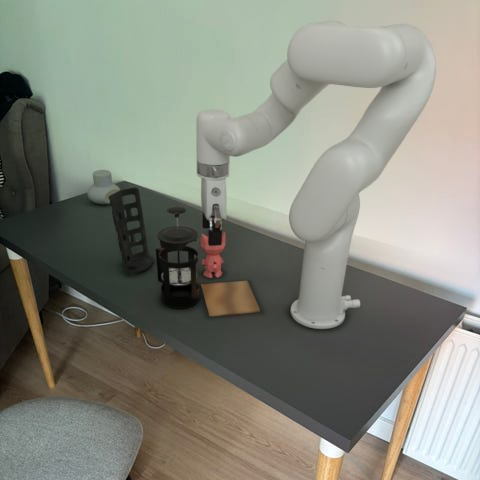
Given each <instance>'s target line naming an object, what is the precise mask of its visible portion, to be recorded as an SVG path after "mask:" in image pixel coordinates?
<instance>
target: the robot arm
mask: <svg viewBox="0 0 480 480" xmlns="http://www.w3.org/2000/svg"><path fill="white" fill-rule="evenodd" d="M286 51H287V52H286V58H287V59H286V60H285V61H284V62H283V63H282V64H281V65H280V66H279V67H278V68H276V70H275V71H274V72H273V73H272V74H271V76H270V79H269V87H270V90H271V94H270V95H269V96H268V97H267V98H266V99H265V100H264V101H263V103H261V104H260V105H259V106H258V107H257V108H256V109H255V110H254V111H252V112H249V113H246V114H243V115H240V116H236V117H231V115H230V113H228V112H227V111H224V110H222V109H213V108H212V109H211V108H210V109H204V110H201V111H199V112H198V113H197V116H196V176H197V177H198V178H200V180H201V181H200V203H201V209H202V219H201V220H202V222H201V223H202V225H201V227H202V228H203V229H208V231H207V232H208V233H207V234H208V235H207V237H208V244H209V246H216V245H221V244H222V234H223V226H222V225H223V224H222V220H224V221H225V220H226V219H227V216H228V215H227V212H228V211H227V209H228V208H227V207H228V206H227V181H226V179H227V178H229V177H230V164H231V163H230V160H231V158H230V157H234V158H235V157H236V158H237V157H241V156H244V155H246V154H248V153H249V154H250V153H252V152H254V151H256V150H258V149H261V148H264V147H265V146H267V145H269V144H270V143H272V142H273V141H274V140H275V139H277V137H278V136H280V135H281V134H282V133H283V132H284V131H285V130H286V129H287V128H288V127H290V125H292V123H293V122H294V121H295V120H296V119H297V117H298V116H299V114H300V113H301V111H302V110H303V109H304V108H305V107H306V106H307V105H308V104H309V103H310V102H312V101H313V100H314V99H315V98H316V97H317V96H318V95H319V94H320V93H321V92H322V91H323V90H324V89H326V88H327V87H328V86H329V85H335V86H344V87H351V88H352V87H353V88H360V89H361V88H363V89H377V88H380V90H379V91H378V93H377V94H376V95H375V97H373V99H372V101H371V102H370V103H369V104H368V106H367V108H366V109H365V111H364V113H363V115H362V116H361V118H360V119H359V120H358V123H357V124H356V126H355V127H354V129H353V130H352V131H351V133H350V134H349V135H348V136H347V137H346V138H345V139H343V140H342V141H339V142H337V143H335V144H334V145H332V146H330V147H329V148H327V149H326V150H325V151H323V153H322V154H321V155H320V156H319V157H318V158H317V160H316V161H315V163H314V165H313V166H312V168H311V169H310V171H309V173H308V175H307V177H306V178H305V180H304V182H303V184H302V185H301V186H300V188H299V190H298V192H297V194H296V196H295V197H294V199H293V200H292V203H291V205H290V208H289V213H288V223H289V227H290V229H291V231H292V233H293V234H294V235H295V236H296V237H297V238H298V239H299V240H301V241H303V242H304V246H303V247H304V249H303V255H302V266H301V274H300V283H299V291H298V299H296V300H294V301H293V302H292V303H291V305H290V315H291V317H292V319H293V320H294V321H295V322H297V323H298V324H300V325H301V326H304V327H306V328H310V329H315V330H328V329H333V328H336V327H338V326H340V325H341V324H342V323H343V322H344V321H345V318H346V311H347V310H348V309H357V308H360V307H361V300H360V299H358V298H357V299H356V298H355V299H352V297H351V295H349V294H348V295H347V294H346V295H343V290H344V289H343V288H344V284H345V277H346V271H347V265H348V259H349V255H350V248H351V243H352V238H353V234H354V231H355V227H356V224H357V221H358V218H359V214H360V210H361V198H360V193H361V192H362V191H364V190H366V188H368V187H370V186H372V185H373V184H374V183H375V182H376V181H377V180H378V179H379V178H380V176H381V175H382V174H383V172H384V171H385V168H386V167H387V165H388V163H389V162H390V160H391V159H392V158H393V156H394V155H395V153H396V151H397V150H398V149H399V148H400V146H401V144H402V143H403V142H404V140H405V139H406V137H407V135H408V134H409V133H410V131H411V129H412V128H413V126H414V125H415V123H416V122H417V121H418V118H419V117H420V116H421V114H422V112H424V109H425V107H426V105H427V104H428V102H429V99H430V98H431V95H432V92H433V89H434V85H435V81H436V75H437V61H436V55H435V50H434V48H433V45H432V43H431V41H430V39H429V38H428V36H427V35H426V34H425V33H424V31H422V30H421V29H420V28H418V27H417V26H415V25H412V24H408V23H396V24H389V25H382V26H349V25H347V24H346V23H343V22H342V21H338V20H326V21H317V22H310V23H307V24H304V25H303V26H301V27H300V28H299V29H297V30H296V31H295V32H294V34H293V35H292V37H291V39H290V40H289V44H288V46H287V50H286Z"/></svg>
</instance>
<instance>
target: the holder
mask: <svg viewBox="0 0 480 480" xmlns="http://www.w3.org/2000/svg"><path fill="white" fill-rule="evenodd" d="M131 195H132V196H134V198H135V201H134V202H129V203H123V197H125V196H131ZM109 200H110V204H109V205H110V207H111V215H112V221H113V224H114V228H115V231H116V233H117V241H118V247H119V252H120V256H121V260H122V266H123V269H124V271H125V272H126V274H127V275H128V276H135V275H138V274H140V273H143V272H144V271H146V270H147V269H149V268H150V267H151V266H152V264H153V258H152V256H151V255H150V253H149V248H148V241H147V240H148V239H147V233H146V226H145V220H144V213H143V207H142V201H141V194H140V189H139V188H138V187H129V188H125V189H120V191H118V192H116V193H114V194H112V195H110V196H109ZM132 209H136V210H137V214H136V215H133V213H132ZM136 221H137V222H139V227H136V228H131V229H129V228H128V223H131V222H136ZM137 234H140V235H141V236H140V237H141V239H138V240H137V237H136V235H137ZM138 246H142V251H139V252H136V253H133V251H132V248H134V247H138ZM140 258H145V260H142V261H141V260H138V259H140ZM130 268H133V269H132V270H130ZM134 268H135V269H134Z"/></svg>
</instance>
